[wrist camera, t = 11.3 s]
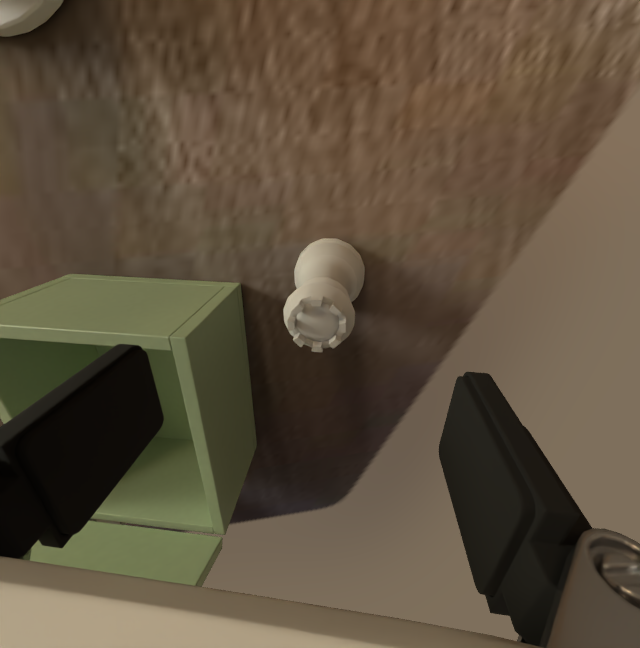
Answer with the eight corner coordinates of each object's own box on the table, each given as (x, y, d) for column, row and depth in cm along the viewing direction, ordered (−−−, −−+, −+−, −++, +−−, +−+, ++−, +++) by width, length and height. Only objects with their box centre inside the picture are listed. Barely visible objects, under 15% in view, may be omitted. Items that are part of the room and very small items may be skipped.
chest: (70, 273, 22) (-58, 320, 15) (240, 282, 21) (185, 338, 14) (126, 432, 29) (56, 514, 22) (257, 445, 28) (225, 535, 21)
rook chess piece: (377, 281, 20) (389, 342, 13) (321, 314, 22) (304, 385, 15) (340, 222, 19) (331, 254, 12) (283, 261, 20) (243, 311, 13)
